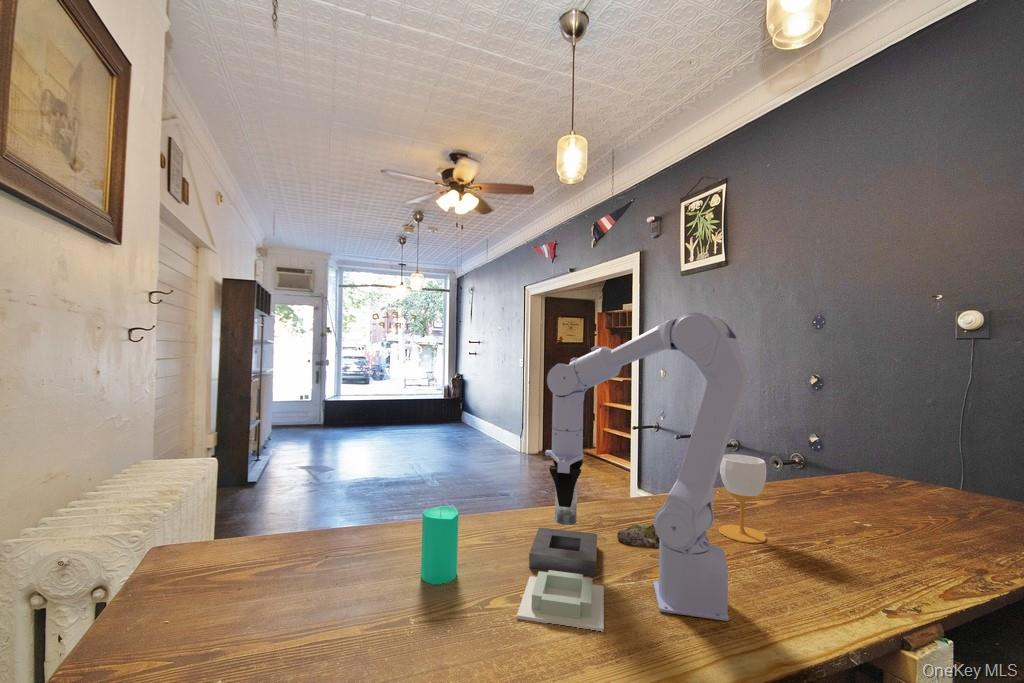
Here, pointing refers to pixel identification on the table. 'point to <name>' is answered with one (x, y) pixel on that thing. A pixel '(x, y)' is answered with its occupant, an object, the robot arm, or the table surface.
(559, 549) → the socket block
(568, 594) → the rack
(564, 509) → the smooth metal cylinder
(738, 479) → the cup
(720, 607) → the robot arm
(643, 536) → the mineral rock
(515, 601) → the table surface
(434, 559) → the candle
